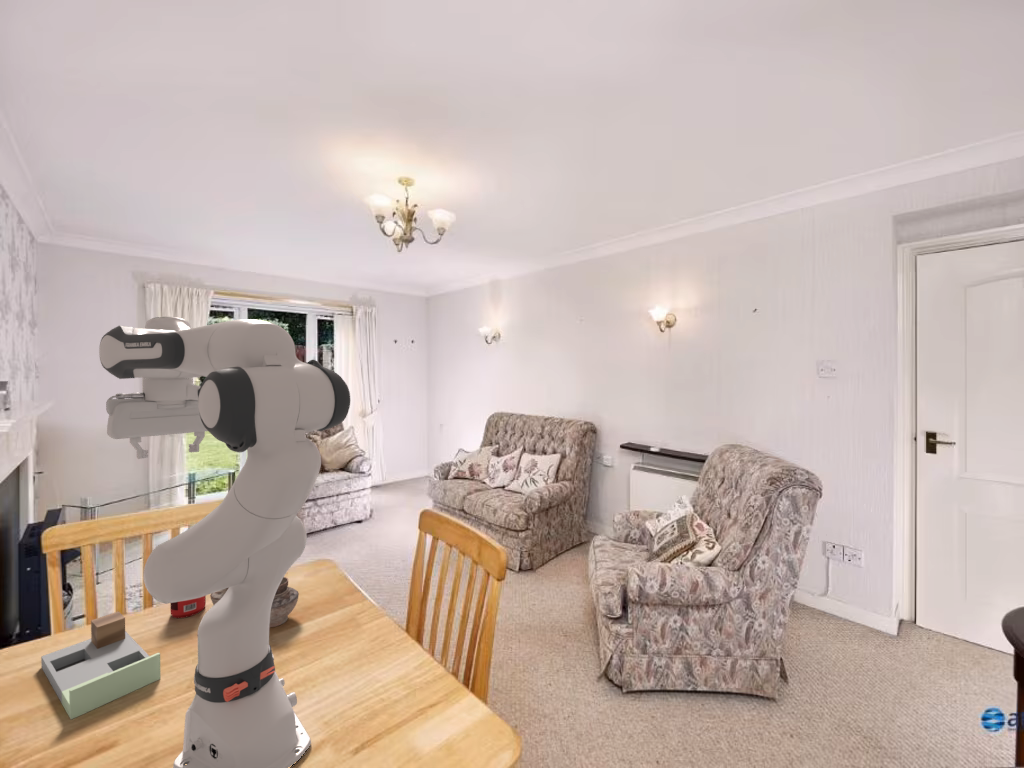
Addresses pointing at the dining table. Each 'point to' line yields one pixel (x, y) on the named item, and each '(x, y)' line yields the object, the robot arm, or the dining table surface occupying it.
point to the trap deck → (98, 673)
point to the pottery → (281, 602)
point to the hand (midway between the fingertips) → (169, 454)
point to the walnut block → (107, 629)
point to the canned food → (187, 607)
